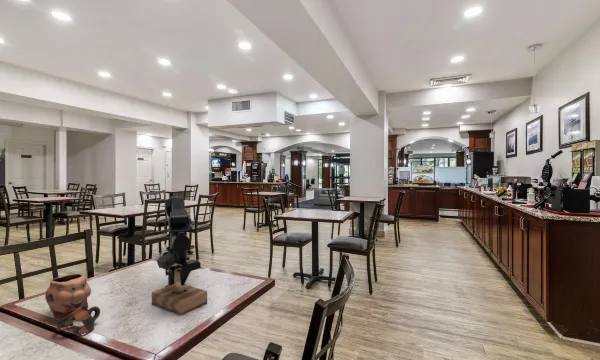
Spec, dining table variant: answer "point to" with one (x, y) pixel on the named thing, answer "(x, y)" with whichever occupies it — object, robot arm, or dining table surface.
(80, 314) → the pottery mug
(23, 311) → the dining table surface
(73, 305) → the decorative planter
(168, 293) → the walnut socket block
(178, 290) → the maple dowel
